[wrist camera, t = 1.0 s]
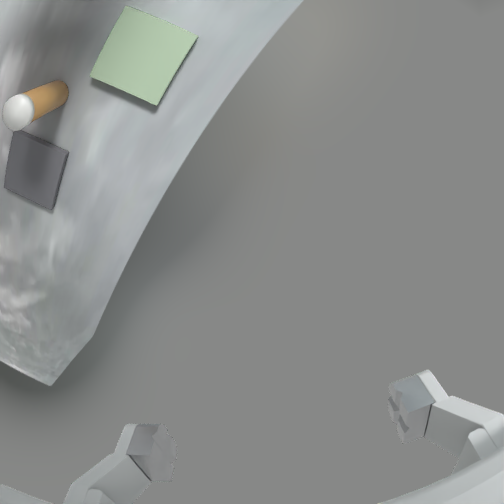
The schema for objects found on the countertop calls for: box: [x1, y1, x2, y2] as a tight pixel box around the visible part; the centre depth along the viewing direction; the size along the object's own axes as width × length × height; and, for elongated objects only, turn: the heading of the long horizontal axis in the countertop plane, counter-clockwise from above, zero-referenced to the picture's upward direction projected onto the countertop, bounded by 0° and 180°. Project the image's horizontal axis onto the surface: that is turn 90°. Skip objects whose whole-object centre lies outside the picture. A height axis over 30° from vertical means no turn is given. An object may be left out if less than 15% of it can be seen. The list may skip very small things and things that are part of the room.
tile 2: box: [90, 6, 199, 106], centre depth 39 cm, size 13×13×2 cm
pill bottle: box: [3, 80, 69, 131], centre depth 35 cm, size 5×5×13 cm
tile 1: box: [4, 130, 69, 210], centre depth 48 cm, size 13×13×2 cm
